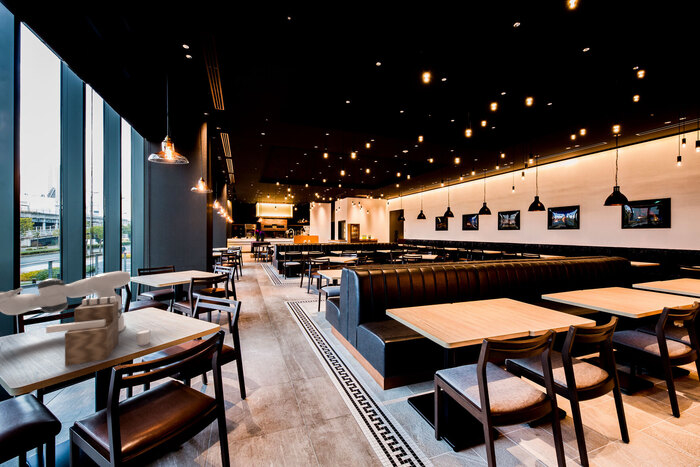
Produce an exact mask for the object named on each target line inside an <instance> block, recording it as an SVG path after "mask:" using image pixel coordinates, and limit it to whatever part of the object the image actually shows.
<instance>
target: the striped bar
mask: <svg viewBox="0 0 700 467" xmlns="http://www.w3.org/2000/svg"><path fill="white" fill-rule="evenodd" d="M114 302H116V296H114V297H102V298H101V297H100V298H98V297H93V298H91V297H90V298H83V299H82V300H81V305H93V304H104V303H114Z"/></svg>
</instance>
